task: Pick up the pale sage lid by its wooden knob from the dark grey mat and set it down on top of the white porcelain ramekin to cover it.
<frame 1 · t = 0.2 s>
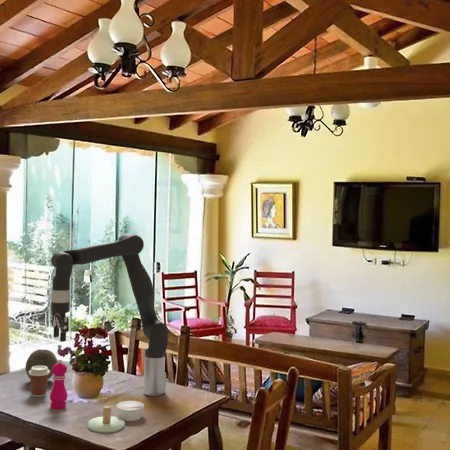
hand: (59, 339, 251), 29 cm above the table, tool pointing down, fingers open, 8 cm apart
lid: (106, 425, 234), resting on mat
mat: (106, 426, 234), on the table
coffee cup: (38, 394, 268), on the table
cantaloupe: (41, 381, 286), on the table
pepper mill: (58, 407, 253), on the table
ramekin: (129, 418, 245), on the table
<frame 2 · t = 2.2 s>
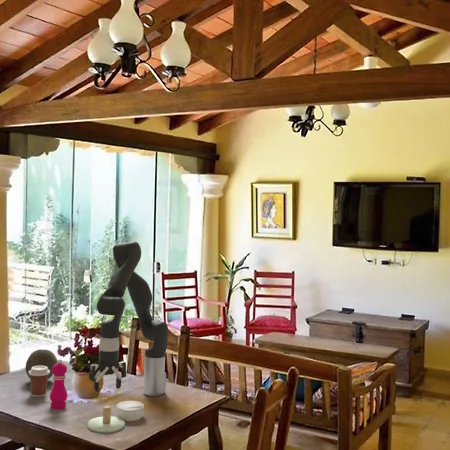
hand: (107, 389, 234), 14 cm above the table, tool pointing down, fingers open, 8 cm apart
nothing on the table moved.
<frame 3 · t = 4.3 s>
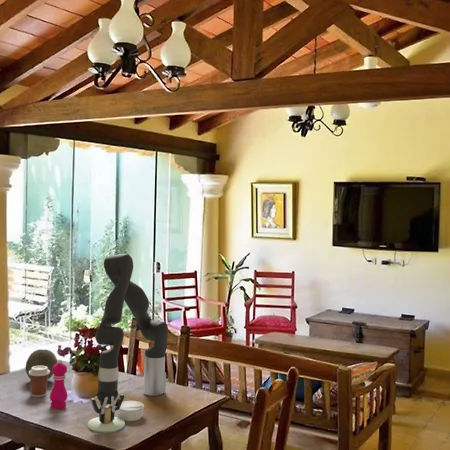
hand: (106, 421, 234), 2 cm above the table, tool pointing down, fingers closed on lid, 3 cm apart
lid: (106, 425, 234), resting on mat, touching gripper
everything else where it was.
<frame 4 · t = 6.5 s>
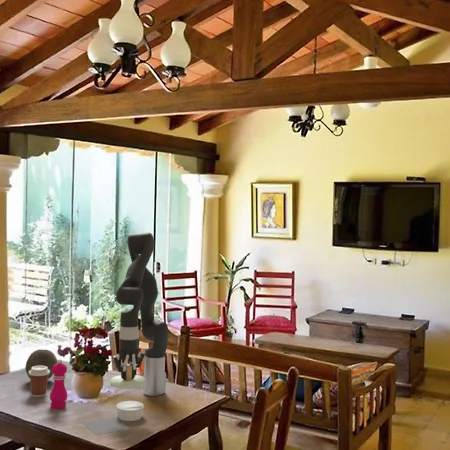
hand: (128, 378, 243), 16 cm above the table, tool pointing down, fingers closed on lid, 3 cm apart
lid: (128, 382, 243), point 15 cm above the table, touching gripper
everything else where it was.
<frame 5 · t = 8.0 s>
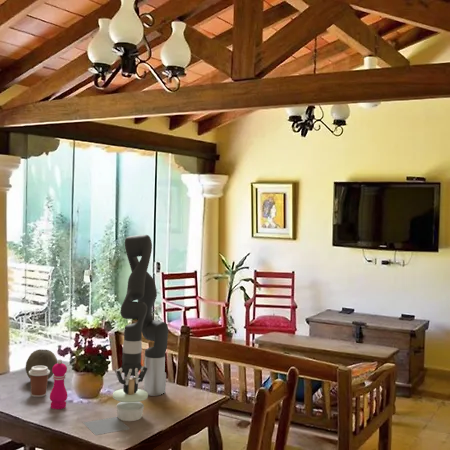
hand: (130, 392, 245), 10 cm above the table, tool pointing down, fingers closed on lid, 3 cm apart
lid: (130, 396, 245), point 9 cm above the table, touching gripper
everything else where it was.
when the fingers open (8 cm above the table, at t = 9.0 s): lid drops 2 cm, resting on ramekin.
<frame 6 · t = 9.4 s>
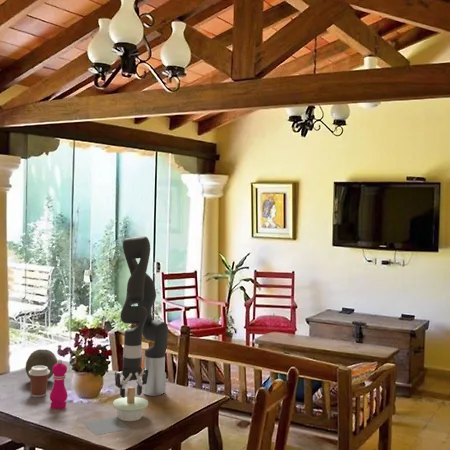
hand: (130, 395, 245), 9 cm above the table, tool pointing down, fingers open, 6 cm apart
lid: (130, 405, 245), point 5 cm above the table, touching ramekin
ramekin: (129, 418, 245), on the table, touching lid
everything else where it was.
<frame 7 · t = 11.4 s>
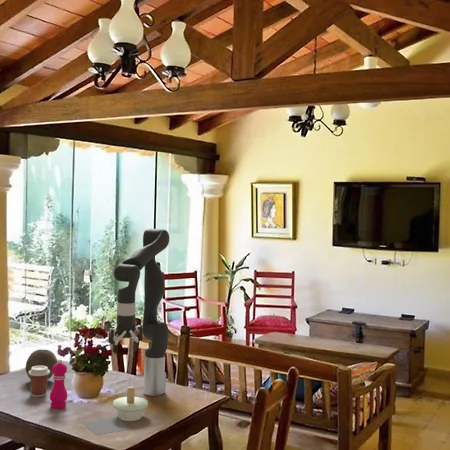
hand: (125, 352, 248), 26 cm above the table, tool pointing down, fingers open, 8 cm apart
nothing on the table moved.
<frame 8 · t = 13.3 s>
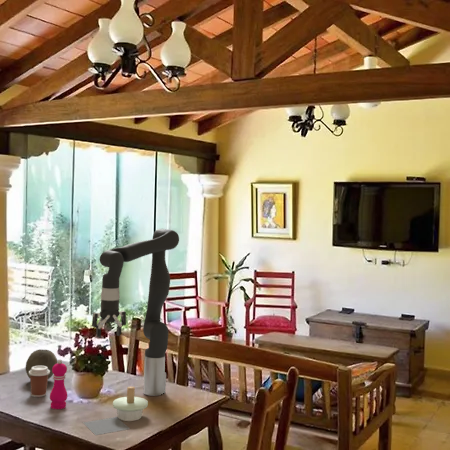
hand: (108, 336, 255), 30 cm above the table, tool pointing down, fingers open, 8 cm apart
nothing on the table moved.
at the end: lid 0.2 cm off-centre on the ramekin, point 5.5 cm above the ramekin's base; lid tilted 0°; the gripper is holding nothing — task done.
